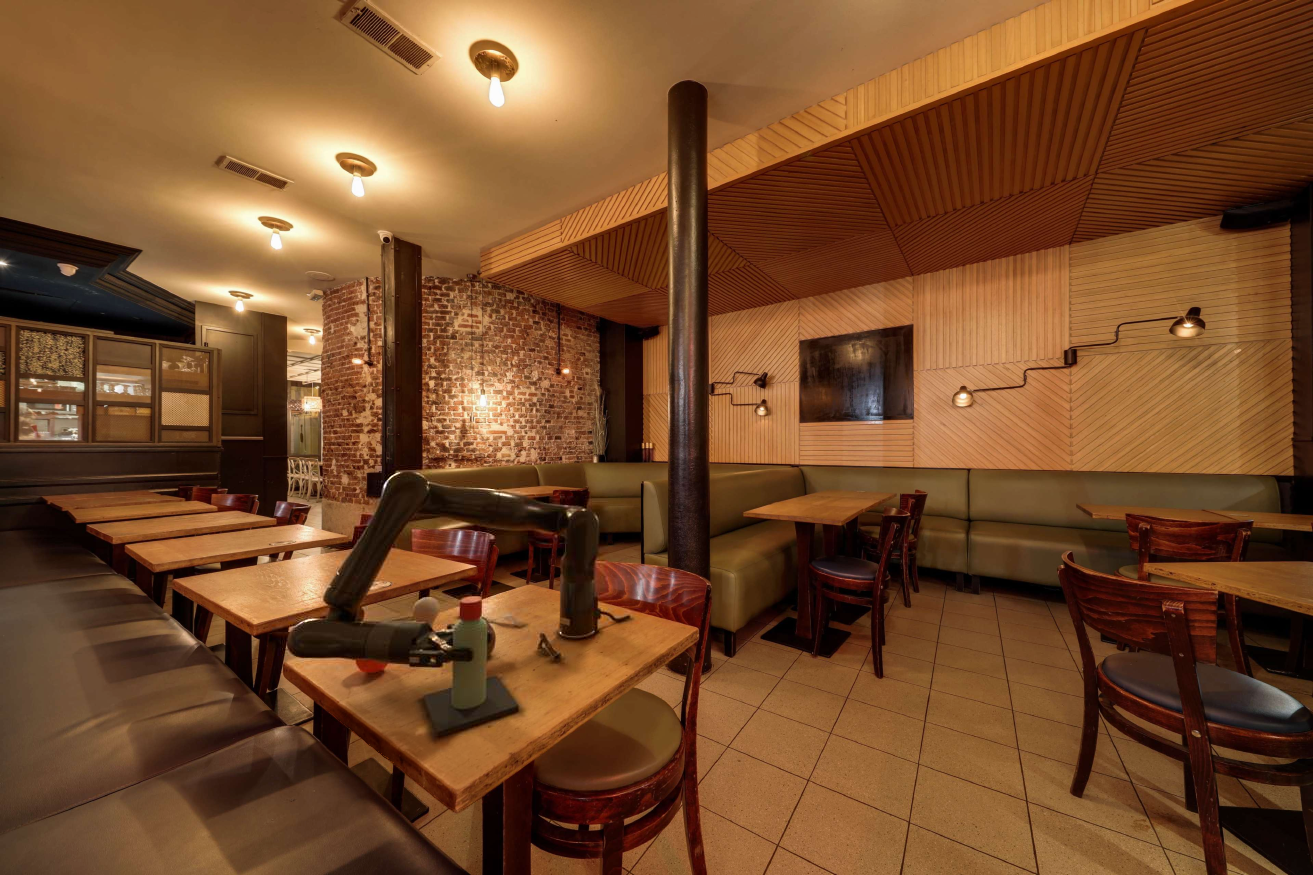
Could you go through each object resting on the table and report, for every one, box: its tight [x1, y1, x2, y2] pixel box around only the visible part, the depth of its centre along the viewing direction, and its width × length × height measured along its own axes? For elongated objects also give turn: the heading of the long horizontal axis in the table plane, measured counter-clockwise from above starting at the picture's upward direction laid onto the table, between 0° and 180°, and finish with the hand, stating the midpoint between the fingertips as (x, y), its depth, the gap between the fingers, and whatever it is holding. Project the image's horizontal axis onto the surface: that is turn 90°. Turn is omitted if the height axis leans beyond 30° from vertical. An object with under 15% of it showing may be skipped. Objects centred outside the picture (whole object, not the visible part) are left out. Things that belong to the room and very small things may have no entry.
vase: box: [481, 616, 497, 658], centre depth 107 cm, size 7×7×9 cm
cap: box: [458, 595, 483, 621], centre depth 87 cm, size 4×4×3 cm
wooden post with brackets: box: [537, 632, 562, 663], centre depth 108 cm, size 2×8×4 cm, turn 46°
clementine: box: [355, 660, 389, 674], centre depth 99 cm, size 8×7×7 cm
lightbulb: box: [411, 596, 441, 630], centre depth 115 cm, size 6×6×11 cm
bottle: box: [451, 617, 488, 709], centre depth 87 cm, size 6×6×18 cm
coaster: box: [422, 674, 520, 739], centre depth 87 cm, size 14×14×1 cm
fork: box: [481, 613, 525, 628], centre depth 129 cm, size 3×21×3 cm, turn 72°
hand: (482, 645), depth 87 cm, fingers open, 7 cm apart
